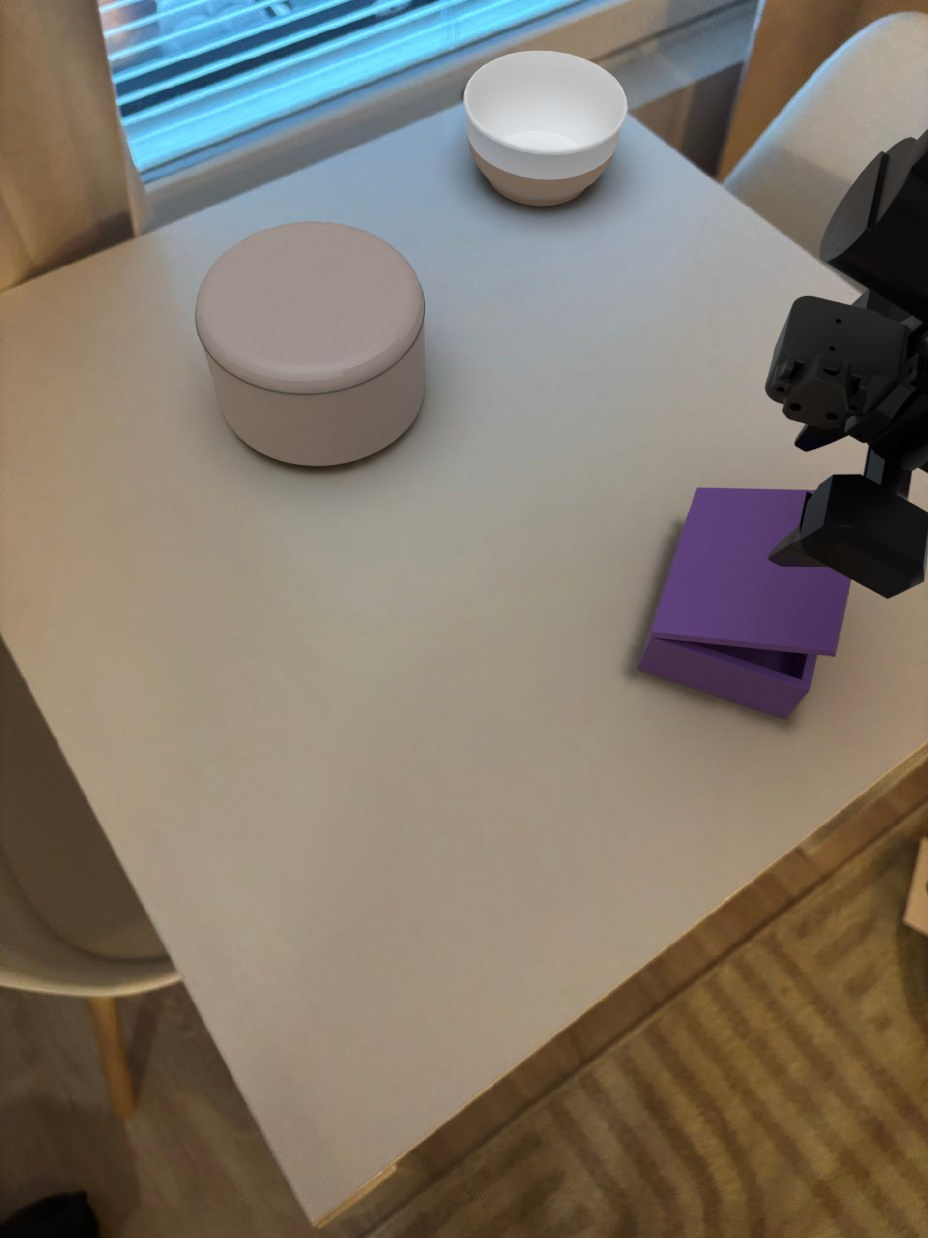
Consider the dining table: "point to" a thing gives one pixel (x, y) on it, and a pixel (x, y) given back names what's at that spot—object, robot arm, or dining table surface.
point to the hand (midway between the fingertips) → (787, 501)
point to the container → (314, 341)
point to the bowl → (543, 124)
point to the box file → (731, 669)
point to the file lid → (749, 578)
